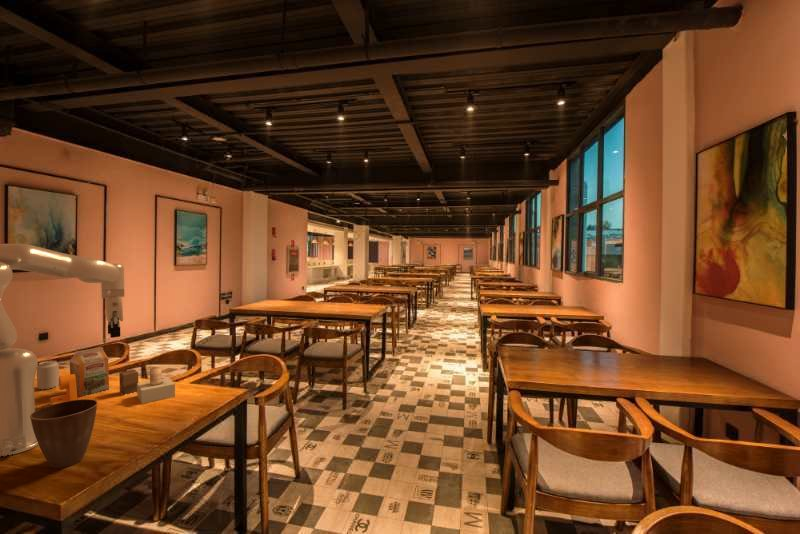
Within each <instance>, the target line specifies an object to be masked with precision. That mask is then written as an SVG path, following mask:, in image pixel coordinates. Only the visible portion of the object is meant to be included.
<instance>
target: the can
mask: <svg viewBox="0 0 800 534" xmlns="http://www.w3.org/2000/svg"><path fill="white" fill-rule="evenodd" d="M59 368H60V364H59V363H58V362H57V360H46V361H41V362H39V363H38V364H37V369H36V383H37V384H36V388H37V389H39V390H40V389H41V391H45V390H44V389H47V390H51V389H50V388H52V389H55V388H57V387H59V377H60V369H59ZM56 386H57V387H56ZM54 387H55V388H54Z"/></svg>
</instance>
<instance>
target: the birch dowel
mask: <svg viewBox="0 0 800 534" xmlns="http://www.w3.org/2000/svg"><path fill="white" fill-rule="evenodd" d="M161 379H162V367H152V368H150V369H149V381H150V386H156V385H161V384H162V380H161Z"/></svg>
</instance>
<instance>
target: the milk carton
mask: <svg viewBox="0 0 800 534" xmlns="http://www.w3.org/2000/svg"><path fill="white" fill-rule="evenodd" d="M73 354H74V355H73V356H72V357H71V358H70V360H69V375H71V374H75V377H76V387H77V397H78V396H79V398H83V396H84V397H87V396H86V395H88V396H91V394H92V395H95V394H94V393H96V394H99V393H103V392H107V391H110V375H109V369H110V368H109V358H108V356H107V354H106V352H105V351H104V348H103V347H101V346H100V347H95V348H89V349H85V350H78V351H75V352H73ZM106 390H107V391H106ZM102 391H103V392H102ZM98 392H99V393H98Z"/></svg>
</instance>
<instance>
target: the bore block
mask: <svg viewBox="0 0 800 534" xmlns="http://www.w3.org/2000/svg"><path fill="white" fill-rule="evenodd" d="M161 380H162V384H161V385H156V386H150V380H148V381H141V382H138V383H137V392H136V394H137V398H138V399H139V401H140V403H141V404H142V405H144V404H148V403H152V402H157V401H161V400H166V399H171V398H175V397H176V385H175V382H173V380H172V379H171V378H170V377H164V378H161Z"/></svg>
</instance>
